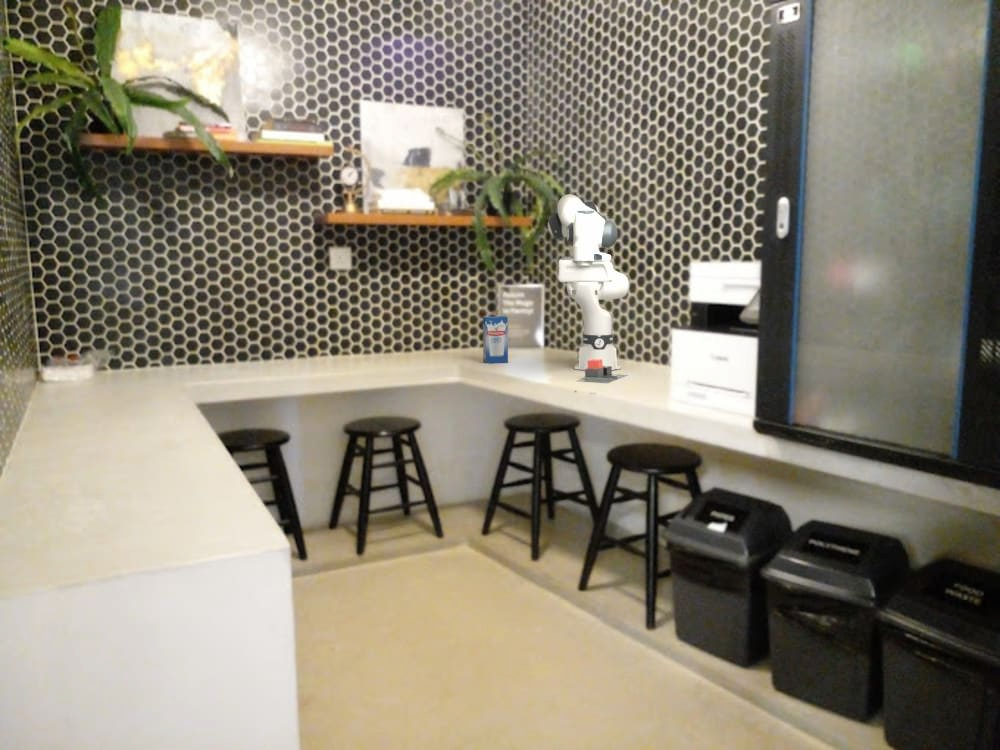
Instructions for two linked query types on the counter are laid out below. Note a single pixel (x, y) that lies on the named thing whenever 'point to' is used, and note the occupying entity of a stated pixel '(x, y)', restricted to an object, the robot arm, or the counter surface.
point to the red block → (595, 364)
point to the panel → (606, 378)
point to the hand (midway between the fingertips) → (585, 295)
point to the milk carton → (495, 339)
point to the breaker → (594, 373)
